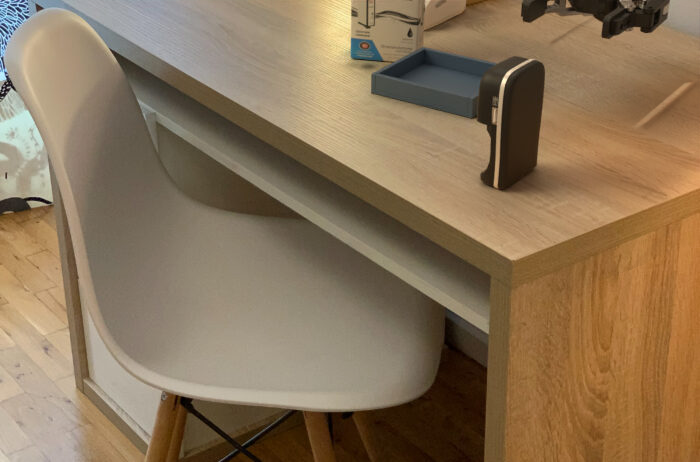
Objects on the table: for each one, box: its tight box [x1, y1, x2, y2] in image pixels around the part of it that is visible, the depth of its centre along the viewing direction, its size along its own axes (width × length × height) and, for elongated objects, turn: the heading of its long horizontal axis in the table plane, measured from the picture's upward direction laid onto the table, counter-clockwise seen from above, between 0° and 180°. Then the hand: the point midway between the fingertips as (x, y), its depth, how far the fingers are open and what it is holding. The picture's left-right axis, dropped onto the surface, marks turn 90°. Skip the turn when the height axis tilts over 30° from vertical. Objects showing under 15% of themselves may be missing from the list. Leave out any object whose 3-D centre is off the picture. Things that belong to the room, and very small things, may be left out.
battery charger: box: [476, 55, 546, 190], centre depth 101 cm, size 7×4×11 cm, turn 142°
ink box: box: [350, 0, 425, 63], centre depth 130 cm, size 9×5×12 cm, turn 76°
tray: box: [370, 46, 499, 119], centre depth 122 cm, size 13×11×2 cm
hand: (565, 20), depth 105 cm, fingers open, 8 cm apart
